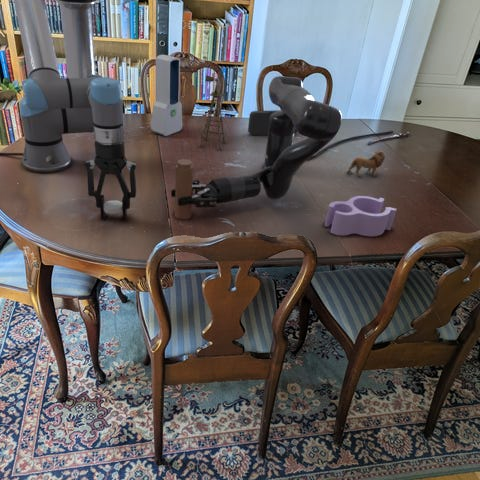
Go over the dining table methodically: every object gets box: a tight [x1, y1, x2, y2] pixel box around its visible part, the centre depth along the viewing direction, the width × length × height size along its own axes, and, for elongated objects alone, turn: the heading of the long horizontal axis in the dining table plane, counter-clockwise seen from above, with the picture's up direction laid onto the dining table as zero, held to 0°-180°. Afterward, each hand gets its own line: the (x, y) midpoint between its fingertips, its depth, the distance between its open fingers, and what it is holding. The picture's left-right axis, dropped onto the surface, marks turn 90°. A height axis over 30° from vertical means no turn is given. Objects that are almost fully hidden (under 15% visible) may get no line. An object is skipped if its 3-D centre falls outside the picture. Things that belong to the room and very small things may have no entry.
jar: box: [174, 158, 194, 220], centre depth 134 cm, size 5×5×17 cm
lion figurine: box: [346, 150, 386, 178], centre depth 174 cm, size 15×5×9 cm, turn 110°
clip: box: [324, 195, 398, 237], centre depth 141 cm, size 20×12×7 cm, turn 109°
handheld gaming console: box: [247, 110, 298, 136], centre depth 202 cm, size 23×3×10 cm, turn 108°
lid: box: [103, 199, 123, 215], centre depth 132 cm, size 6×6×2 cm
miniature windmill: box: [199, 67, 226, 150], centre depth 180 cm, size 9×8×30 cm
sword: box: [367, 133, 409, 145], centre depth 213 cm, size 31×3×1 cm, turn 126°
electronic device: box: [149, 54, 183, 137], centre depth 188 cm, size 12×8×30 cm, turn 148°
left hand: (114, 217), depth 134 cm, fingers closed on lid, 5 cm apart
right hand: (175, 197), depth 135 cm, fingers closed on jar, 5 cm apart
